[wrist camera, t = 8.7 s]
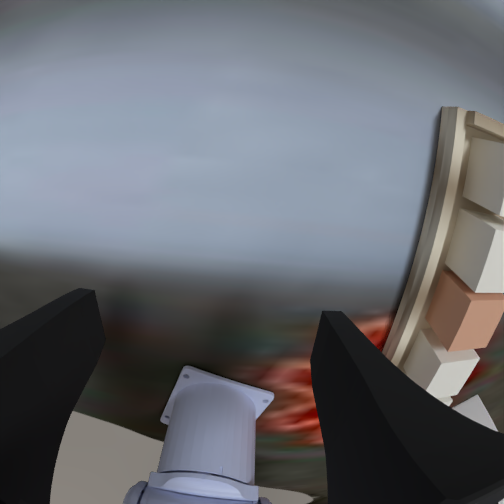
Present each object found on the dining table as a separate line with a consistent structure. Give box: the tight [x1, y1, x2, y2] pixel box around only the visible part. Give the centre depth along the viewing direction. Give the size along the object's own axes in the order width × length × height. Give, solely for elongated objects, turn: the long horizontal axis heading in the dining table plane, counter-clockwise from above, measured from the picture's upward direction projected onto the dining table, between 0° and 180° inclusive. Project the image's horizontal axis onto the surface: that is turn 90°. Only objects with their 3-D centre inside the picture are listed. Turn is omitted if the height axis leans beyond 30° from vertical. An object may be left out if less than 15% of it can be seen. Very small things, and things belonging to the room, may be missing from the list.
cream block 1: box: [403, 329, 480, 398], centre depth 19 cm, size 4×4×4 cm
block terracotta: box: [425, 270, 504, 352], centre depth 17 cm, size 4×4×4 cm
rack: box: [382, 107, 504, 373], centre depth 19 cm, size 26×8×3 cm, turn 176°
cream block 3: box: [445, 208, 504, 293], centre depth 15 cm, size 4×4×4 cm
